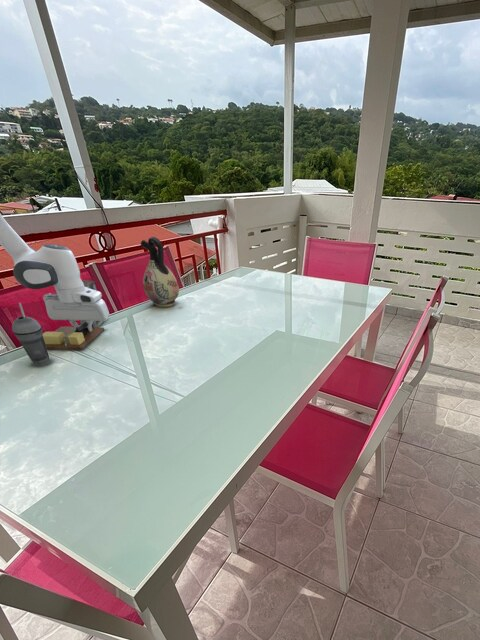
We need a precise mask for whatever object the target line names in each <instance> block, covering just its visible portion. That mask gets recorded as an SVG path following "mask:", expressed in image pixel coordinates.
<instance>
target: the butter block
mask: <svg viewBox="0 0 480 640" xmlns="http://www.w3.org/2000/svg"><path fill="white" fill-rule="evenodd" d="M64 336H65V334H64V332H54V331H44V332H43V338H44V341H45V344H62V343H63V342H64V340H63V337H64Z"/></svg>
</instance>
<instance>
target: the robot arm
mask: <svg viewBox="0 0 480 640" xmlns="http://www.w3.org/2000/svg"><path fill="white" fill-rule="evenodd" d="M1 213H2V212H0V246H1V247H2V248H3V249H4V250H5V252H7V253H8V255H10V257H11V259H12V260H13V263H14V265H13V269H12V273H13V276H14V278H15V280H16V281H17V282H18V283H19V284H20V285H21V286H22V287H24V288H27V289H28V290H29V289H30V290H42V289H46V288H49V287H50V288H51V287H54V290H55V292H56V293H47V292H46V293H45V294H44V295H43V296H42V299H43V302H44V304H45V309H46V313H47V316H48V318H49V319H50V320H52V321H68V322H69V323H70V325H71V326H72V327H75V329H76V328H78V327H79V326H80V325H81V324H80V325H79V324H78V323H77V322H76V321H79V322H80V321H86V322H87V323H88V326H87V327H85V328H86V331H89V332H91V331H92V323H93V321H103V322H106V321H108V319H109V318H110V317H111V315H110V311H109V308H108V306H107V304H106V301H105V300H104V299H102V297H103V295H102V292H101V291H99V290H97V291H96V290H93V289H90V288H87V287H84V283H83V282H82V280H83V279H82V278H81V270H80V267H79V265H78V262H77V259H76V257H75V255H74V253H73V251H72V250H71V249H70V248H69V247H66V246H64V245H61V244H55V243H46V244H43V245H42V246H41V247H40V248H39V249H38V250H36V249H34V248H33V247H32V246H30V245H29V244H27V242H26V241H25V240H24V239H23V238H22V237H21V236H20V235H19V233H18V232H17V231H16V230H15V229H14V228H13V227H12V226H11V224H9V223H8V221H7V220H6V219H5V217H3V215H2V214H1Z"/></svg>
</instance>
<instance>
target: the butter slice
mask: <svg viewBox="0 0 480 640" xmlns="http://www.w3.org/2000/svg"><path fill="white" fill-rule="evenodd" d="M68 339H69V342H70V344H71V345H80V344H81V343H82V342H83V341H85V339H84V336H83V333H81V332H74V333H72V334H71V335H69V336H68Z"/></svg>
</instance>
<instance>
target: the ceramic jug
mask: <svg viewBox="0 0 480 640" xmlns="http://www.w3.org/2000/svg"><path fill="white" fill-rule="evenodd" d="M140 247H142V248H143V249H146V250H147V251H148V253H149V261H148V263H147V265H146V267H145V271H144V274H143V279H142V284H143V285H142V288H143V292H144V294H145V296H146V297H147V298H148V299H149V300H150V301H151V302H152V303H153V304H154V305H155V306H156V307H159V308H168V307H172V306H174V305H175V304H176V299H177V298H178V296H179V293H180V288H179V284H178V283H179V282H178V280H177V278H176V276H175V275H174V273H173V272H172V271H171V269H170V268H169V267H168V266H167V265H166V264H165V256H164V253H165V252H164V246H163V243H162V242H161V240H160V239H159V238H158V237H156V236H151V237H149V238H148V241H147V240H145V239H142V240H141V242H140Z"/></svg>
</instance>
